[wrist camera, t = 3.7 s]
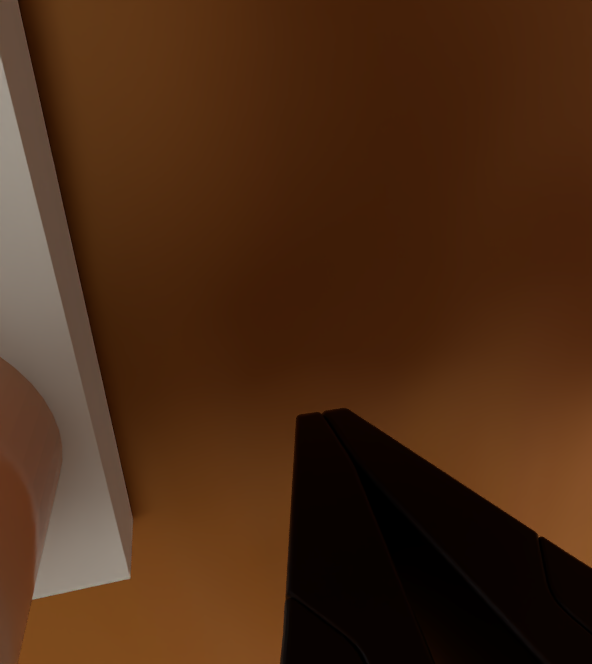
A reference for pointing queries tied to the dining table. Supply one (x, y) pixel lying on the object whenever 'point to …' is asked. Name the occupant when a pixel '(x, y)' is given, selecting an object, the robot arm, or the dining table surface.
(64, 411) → the deck
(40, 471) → the pink short cylinder
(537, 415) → the dining table surface
